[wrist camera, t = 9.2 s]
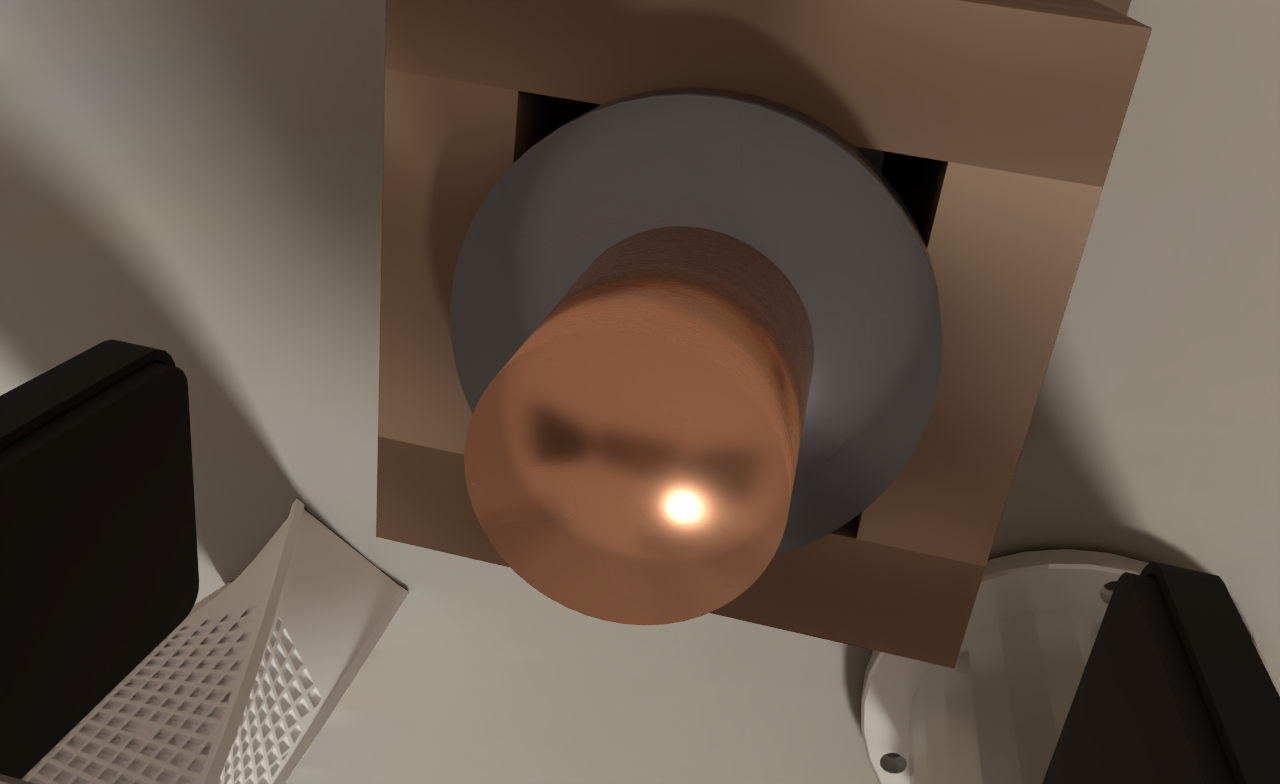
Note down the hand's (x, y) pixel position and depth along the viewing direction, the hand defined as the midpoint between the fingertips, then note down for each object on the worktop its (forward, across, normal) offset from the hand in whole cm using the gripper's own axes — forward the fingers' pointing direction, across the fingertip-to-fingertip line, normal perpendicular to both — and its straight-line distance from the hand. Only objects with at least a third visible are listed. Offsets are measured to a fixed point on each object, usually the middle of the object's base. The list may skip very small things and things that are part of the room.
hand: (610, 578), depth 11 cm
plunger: (+19, 0, 0) cm, 19 cm away
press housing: (+22, 0, -1) cm, 22 cm away
